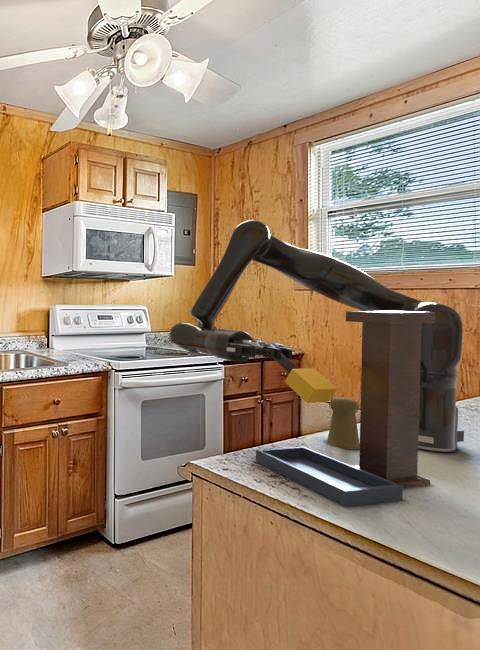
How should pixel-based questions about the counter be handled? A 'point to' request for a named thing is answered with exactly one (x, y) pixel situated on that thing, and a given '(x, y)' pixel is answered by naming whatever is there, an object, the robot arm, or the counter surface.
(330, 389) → the sponge brush
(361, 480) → the tray
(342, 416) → the cork
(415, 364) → the wooden pedestal stand
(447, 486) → the counter surface
